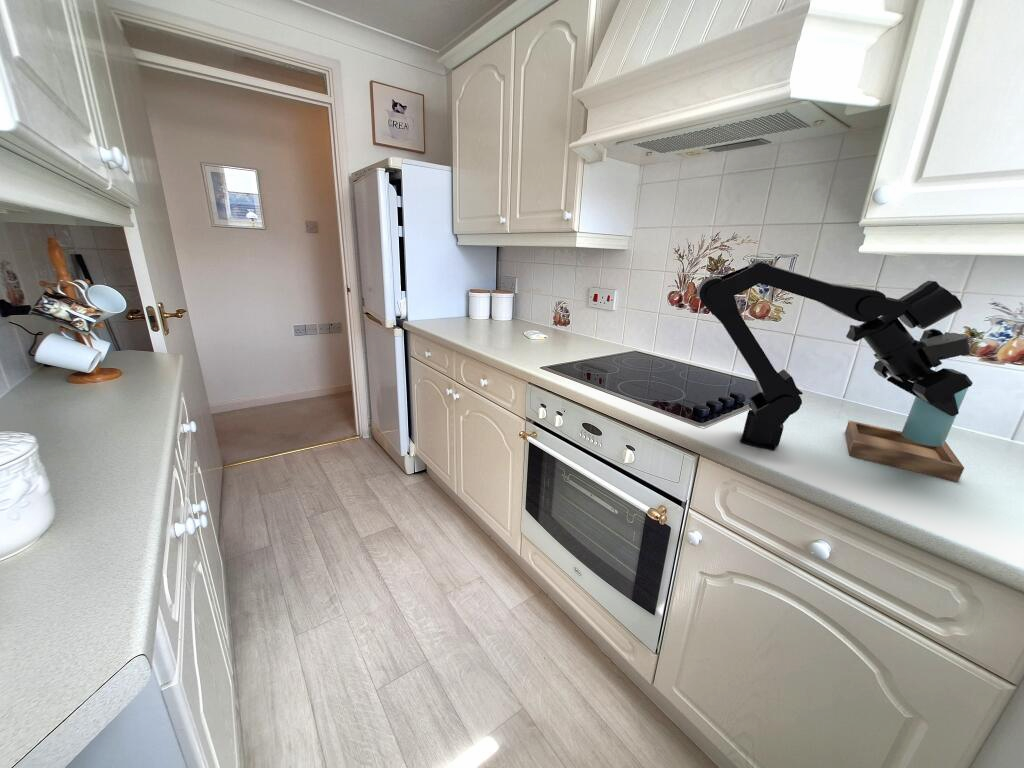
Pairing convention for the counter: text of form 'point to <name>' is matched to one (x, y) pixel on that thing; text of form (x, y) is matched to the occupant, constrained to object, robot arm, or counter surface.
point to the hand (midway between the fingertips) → (943, 408)
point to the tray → (901, 451)
